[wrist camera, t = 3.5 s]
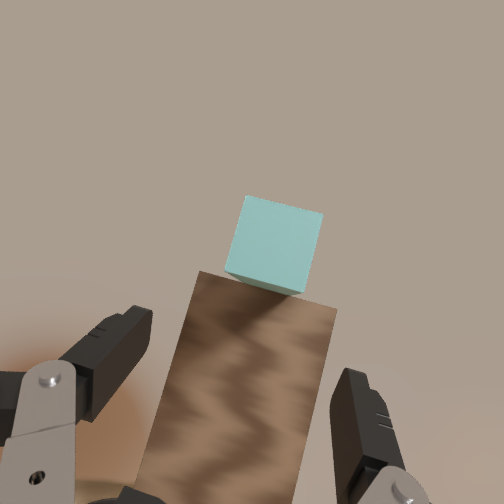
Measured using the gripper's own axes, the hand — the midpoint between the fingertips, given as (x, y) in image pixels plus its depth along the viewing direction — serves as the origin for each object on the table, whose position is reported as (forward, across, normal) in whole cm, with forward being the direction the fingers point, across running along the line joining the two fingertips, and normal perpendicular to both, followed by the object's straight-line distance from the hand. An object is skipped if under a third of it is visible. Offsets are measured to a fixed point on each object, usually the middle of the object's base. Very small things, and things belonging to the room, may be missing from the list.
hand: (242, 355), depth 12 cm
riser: (+5, +1, -36) cm, 36 cm away
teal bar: (+15, 0, -5) cm, 16 cm away
